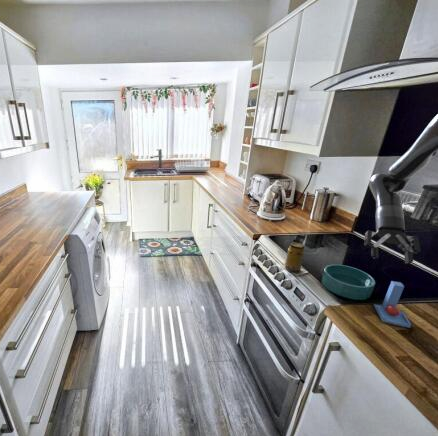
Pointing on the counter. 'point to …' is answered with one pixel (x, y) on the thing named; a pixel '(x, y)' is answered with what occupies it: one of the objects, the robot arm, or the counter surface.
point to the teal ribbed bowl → (348, 282)
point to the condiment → (295, 259)
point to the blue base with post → (392, 300)
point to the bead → (392, 310)
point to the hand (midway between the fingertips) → (391, 260)
